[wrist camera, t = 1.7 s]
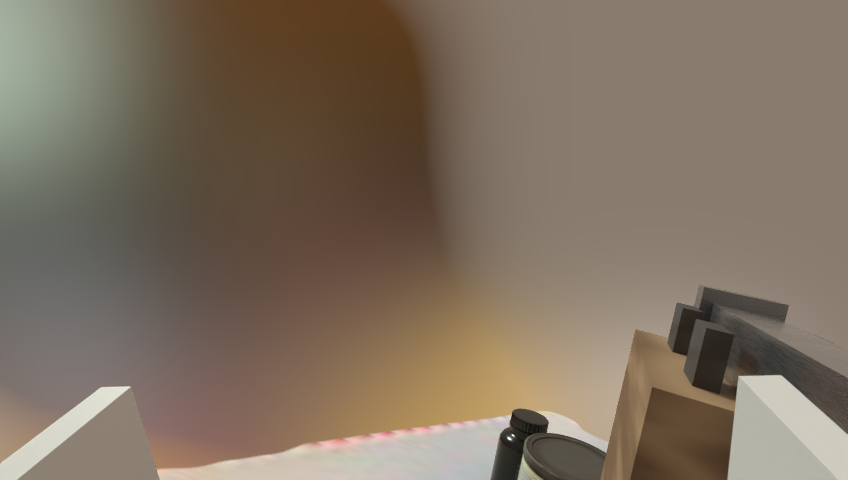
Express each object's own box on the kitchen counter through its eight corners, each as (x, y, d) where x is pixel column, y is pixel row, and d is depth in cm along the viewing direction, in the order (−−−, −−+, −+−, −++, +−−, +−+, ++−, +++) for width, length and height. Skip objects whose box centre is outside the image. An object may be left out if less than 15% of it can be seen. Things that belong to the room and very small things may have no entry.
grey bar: (850, 556, 11) (902, 372, 10) (685, 342, 35) (699, 284, 34) (1175, 678, 9) (1250, 456, 9) (763, 362, 33) (778, 301, 33)
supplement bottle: (543, 502, 63) (562, 419, 62) (529, 528, 57) (550, 436, 56) (497, 479, 66) (514, 400, 65) (479, 501, 60) (498, 414, 59)
